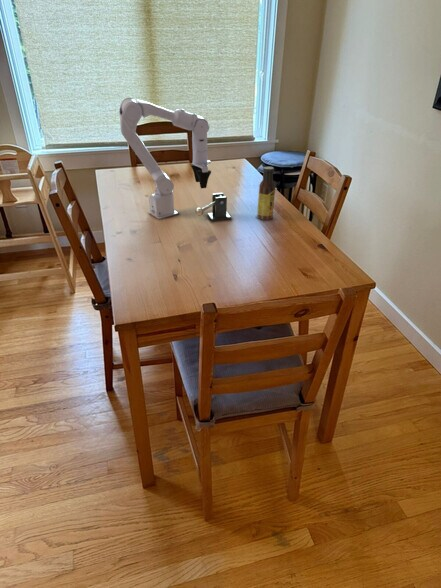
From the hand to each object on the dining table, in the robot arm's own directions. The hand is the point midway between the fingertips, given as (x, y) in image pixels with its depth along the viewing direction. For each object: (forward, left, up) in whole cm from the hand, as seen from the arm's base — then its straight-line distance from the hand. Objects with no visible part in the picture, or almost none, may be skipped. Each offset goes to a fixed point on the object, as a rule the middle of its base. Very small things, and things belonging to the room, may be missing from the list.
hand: (200, 184), depth 164 cm
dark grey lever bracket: (+1, -11, -10) cm, 16 cm away
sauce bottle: (+16, -22, -11) cm, 29 cm away
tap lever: (-2, -10, -6) cm, 12 cm away
